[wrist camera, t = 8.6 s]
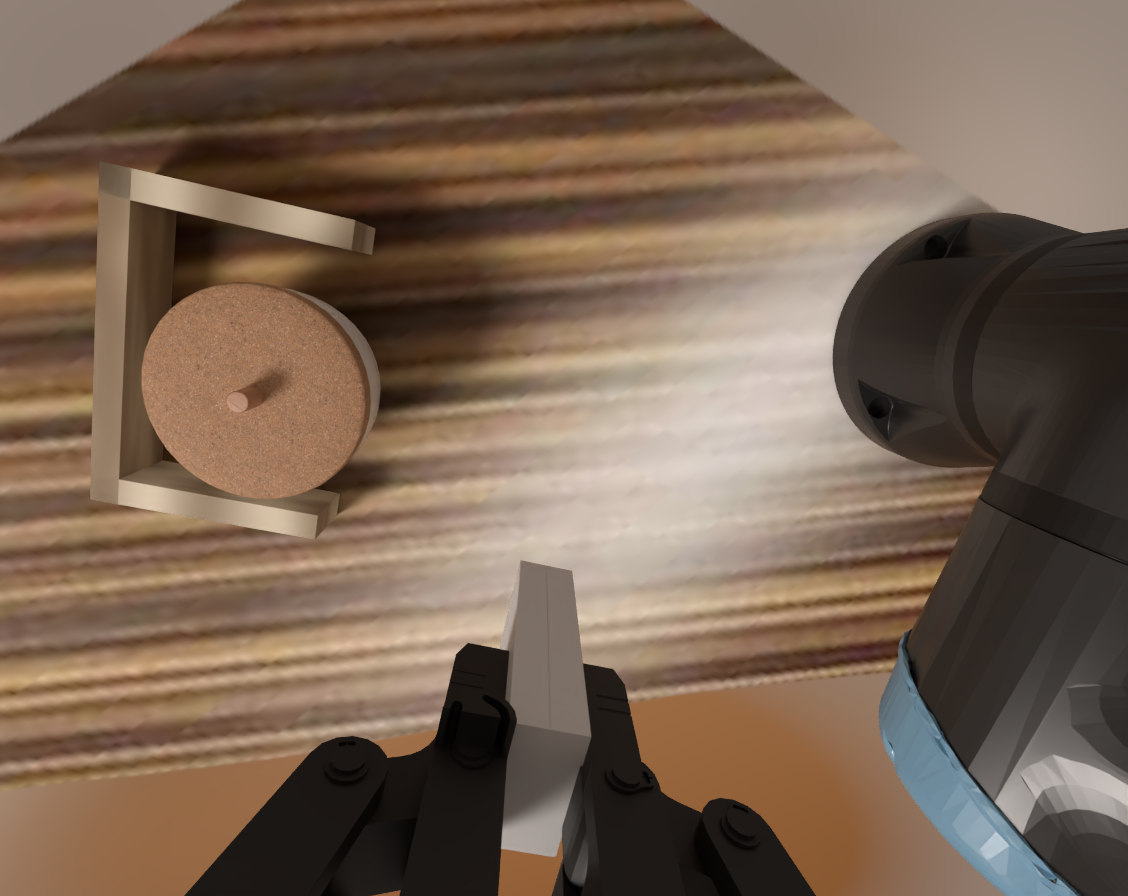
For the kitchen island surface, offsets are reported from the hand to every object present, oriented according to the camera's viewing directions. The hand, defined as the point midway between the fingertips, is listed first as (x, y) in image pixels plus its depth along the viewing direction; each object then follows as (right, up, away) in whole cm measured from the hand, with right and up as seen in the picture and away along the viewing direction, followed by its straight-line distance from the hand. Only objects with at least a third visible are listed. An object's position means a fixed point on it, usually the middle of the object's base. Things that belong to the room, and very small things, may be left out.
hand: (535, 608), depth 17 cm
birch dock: (-18, +10, +19) cm, 28 cm away
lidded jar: (-15, +9, +19) cm, 26 cm away
